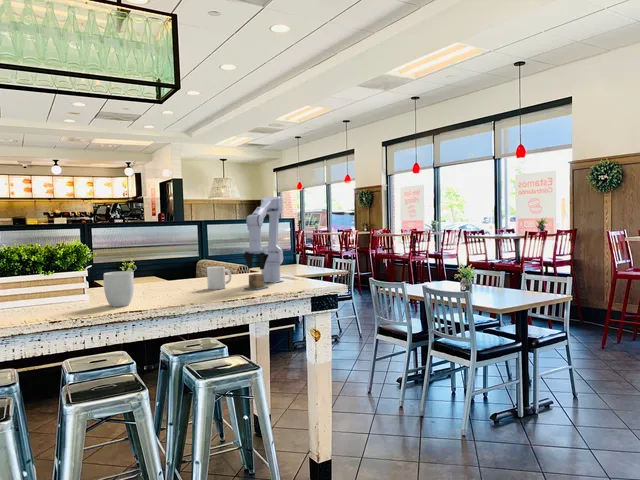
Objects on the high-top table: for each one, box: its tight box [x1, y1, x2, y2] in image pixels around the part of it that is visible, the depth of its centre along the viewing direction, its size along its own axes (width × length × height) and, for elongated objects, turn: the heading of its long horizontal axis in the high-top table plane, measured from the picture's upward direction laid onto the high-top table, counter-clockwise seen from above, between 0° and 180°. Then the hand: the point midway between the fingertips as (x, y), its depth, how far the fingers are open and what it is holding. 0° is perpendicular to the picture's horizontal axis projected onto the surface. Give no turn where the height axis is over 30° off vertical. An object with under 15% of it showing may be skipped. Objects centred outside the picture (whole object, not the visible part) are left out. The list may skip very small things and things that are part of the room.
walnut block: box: [248, 273, 265, 288], centre depth 230 cm, size 5×5×6 cm
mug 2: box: [206, 265, 232, 291], centre depth 234 cm, size 12×8×10 cm
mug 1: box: [103, 270, 135, 308], centre depth 194 cm, size 15×11×13 cm
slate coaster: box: [244, 285, 269, 291], centre depth 230 cm, size 8×8×1 cm
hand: (256, 268), depth 230 cm, fingers open, 7 cm apart
